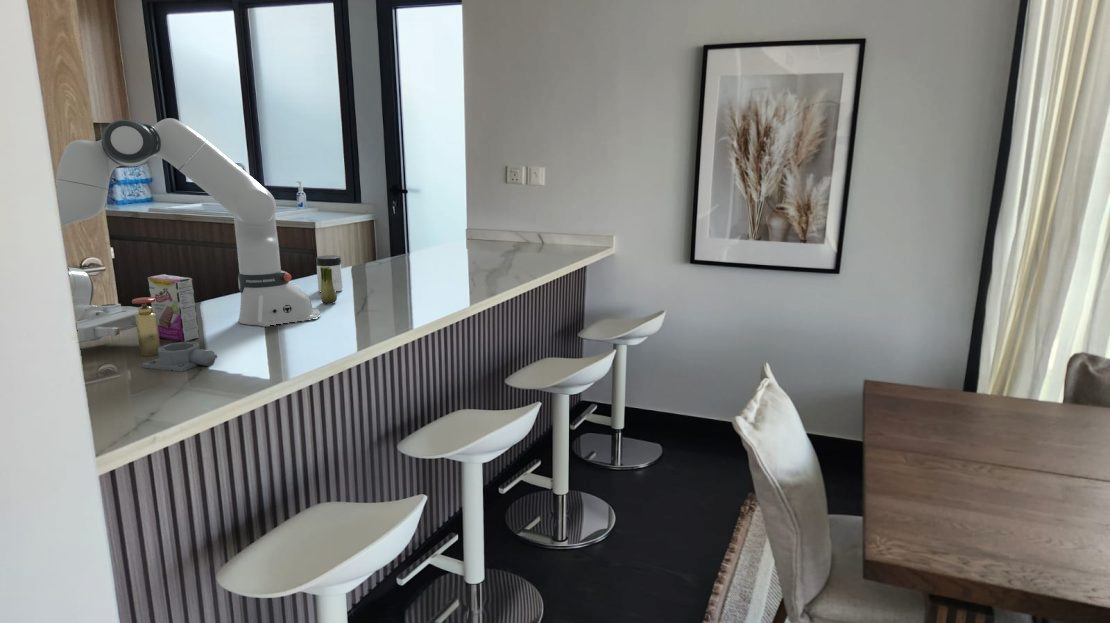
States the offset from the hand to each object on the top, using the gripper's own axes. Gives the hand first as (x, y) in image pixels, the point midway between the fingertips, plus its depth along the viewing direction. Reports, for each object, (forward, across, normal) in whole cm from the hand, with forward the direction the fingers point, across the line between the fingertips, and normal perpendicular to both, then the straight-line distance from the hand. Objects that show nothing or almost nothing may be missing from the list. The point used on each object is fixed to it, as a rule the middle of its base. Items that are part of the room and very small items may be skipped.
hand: (133, 326), depth 168 cm
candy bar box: (0, +13, +7) cm, 15 cm away
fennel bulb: (+14, +61, +7) cm, 63 cm away
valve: (+4, 0, +6) cm, 8 cm away
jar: (+4, +78, +7) cm, 78 cm away
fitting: (+18, -4, +6) cm, 20 cm away
